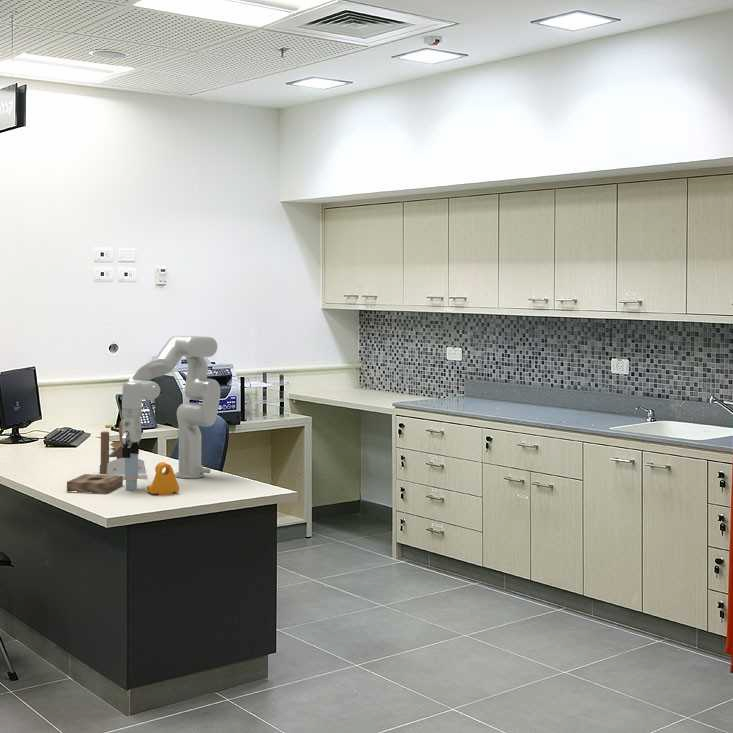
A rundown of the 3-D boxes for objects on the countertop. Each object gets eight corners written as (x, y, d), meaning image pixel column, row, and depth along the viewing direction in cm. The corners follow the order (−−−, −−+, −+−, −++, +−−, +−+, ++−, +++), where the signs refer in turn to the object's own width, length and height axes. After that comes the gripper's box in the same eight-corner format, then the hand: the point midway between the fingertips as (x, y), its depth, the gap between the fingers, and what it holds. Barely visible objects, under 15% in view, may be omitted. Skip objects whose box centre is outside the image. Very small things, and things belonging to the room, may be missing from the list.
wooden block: (126, 473, 439) (126, 431, 438) (100, 474, 435) (100, 432, 434) (124, 471, 442) (125, 430, 441) (99, 472, 438) (99, 431, 437)
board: (122, 485, 410) (122, 475, 410) (106, 493, 393) (106, 483, 392) (84, 483, 412) (84, 474, 412) (66, 492, 394) (66, 481, 394)
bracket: (172, 490, 403) (172, 460, 403) (178, 493, 397) (179, 463, 396) (146, 492, 398) (146, 462, 397) (152, 495, 392) (152, 464, 391)
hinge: (108, 481, 419) (106, 457, 421) (105, 483, 423) (104, 459, 425) (148, 479, 426) (146, 455, 429) (145, 481, 430) (143, 457, 433)
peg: (138, 488, 405) (138, 453, 404) (134, 490, 401) (135, 455, 400) (127, 488, 405) (128, 453, 404) (124, 490, 401) (124, 455, 400)
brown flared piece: (141, 451, 501) (142, 421, 500) (117, 452, 495) (118, 422, 494) (133, 447, 514) (133, 417, 513) (109, 448, 508) (109, 418, 507)
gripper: (133, 415, 392) (132, 459, 392) (147, 411, 409) (146, 454, 410) (114, 414, 393) (113, 458, 393) (129, 410, 410) (128, 453, 410)
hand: (130, 456), depth 401 cm, fingers open, 9 cm apart
